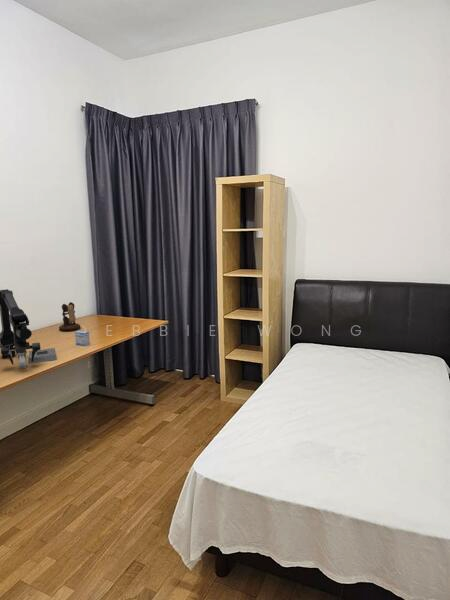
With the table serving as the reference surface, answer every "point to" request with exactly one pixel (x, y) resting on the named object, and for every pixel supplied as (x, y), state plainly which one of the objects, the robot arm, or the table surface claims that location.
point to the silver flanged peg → (22, 359)
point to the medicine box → (82, 338)
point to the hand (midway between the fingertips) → (22, 363)
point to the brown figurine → (69, 322)
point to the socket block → (43, 355)
